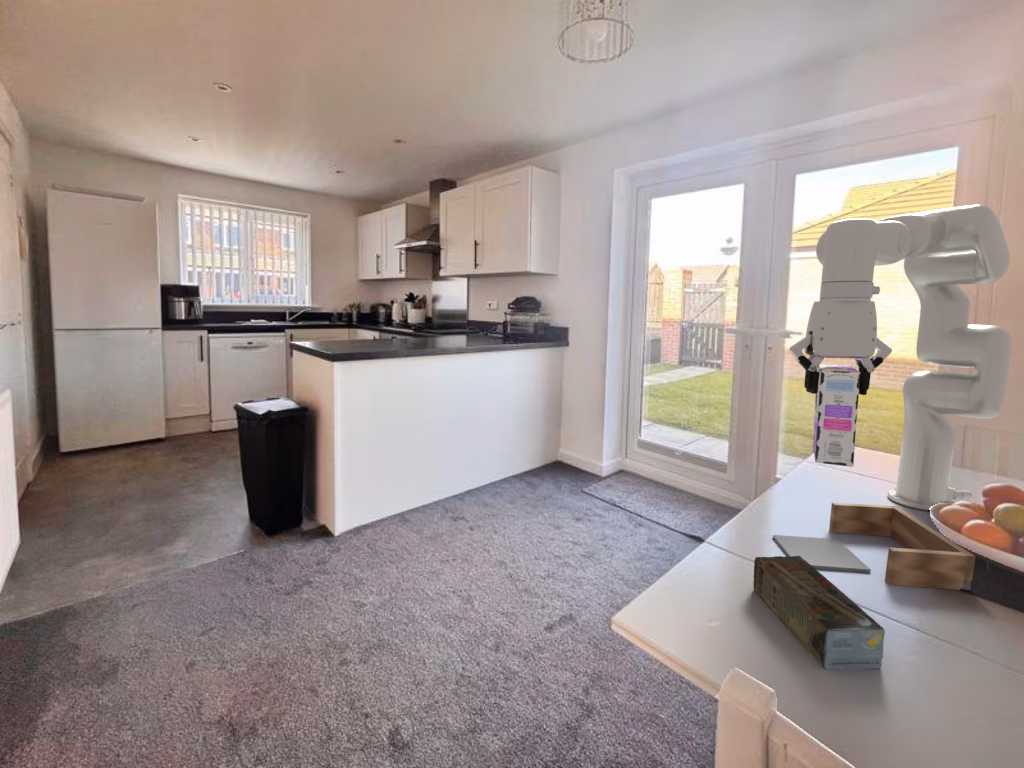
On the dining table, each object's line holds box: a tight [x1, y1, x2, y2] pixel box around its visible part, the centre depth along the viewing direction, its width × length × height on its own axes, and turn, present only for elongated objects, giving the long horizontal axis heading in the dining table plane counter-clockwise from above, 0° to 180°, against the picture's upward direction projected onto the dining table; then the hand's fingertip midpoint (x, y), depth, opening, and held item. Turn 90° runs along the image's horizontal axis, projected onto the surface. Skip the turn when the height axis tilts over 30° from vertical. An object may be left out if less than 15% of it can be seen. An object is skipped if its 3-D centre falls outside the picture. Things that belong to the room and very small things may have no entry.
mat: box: [772, 534, 872, 574], centre depth 95 cm, size 12×12×1 cm
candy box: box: [812, 363, 860, 468], centre depth 91 cm, size 14×6×16 cm, turn 151°
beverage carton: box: [753, 555, 886, 670], centre depth 73 cm, size 8×19×7 cm, turn 1°
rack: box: [828, 502, 976, 591], centre depth 93 cm, size 12×21×6 cm, turn 171°
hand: (835, 392), depth 90 cm, fingers closed on candy box, 7 cm apart
